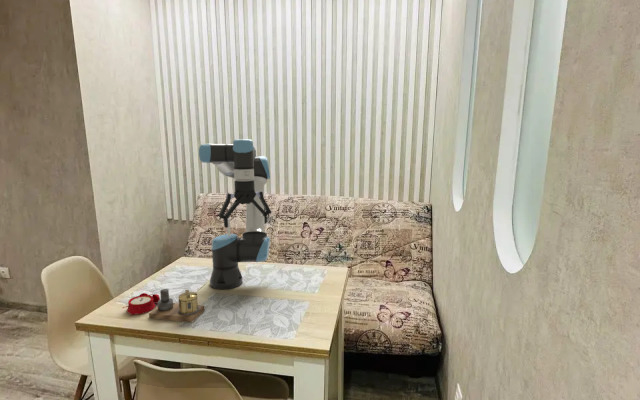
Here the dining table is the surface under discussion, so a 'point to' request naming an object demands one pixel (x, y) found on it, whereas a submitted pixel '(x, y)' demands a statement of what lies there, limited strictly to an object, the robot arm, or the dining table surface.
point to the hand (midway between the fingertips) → (246, 233)
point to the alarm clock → (142, 303)
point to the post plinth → (172, 310)
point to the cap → (188, 302)
